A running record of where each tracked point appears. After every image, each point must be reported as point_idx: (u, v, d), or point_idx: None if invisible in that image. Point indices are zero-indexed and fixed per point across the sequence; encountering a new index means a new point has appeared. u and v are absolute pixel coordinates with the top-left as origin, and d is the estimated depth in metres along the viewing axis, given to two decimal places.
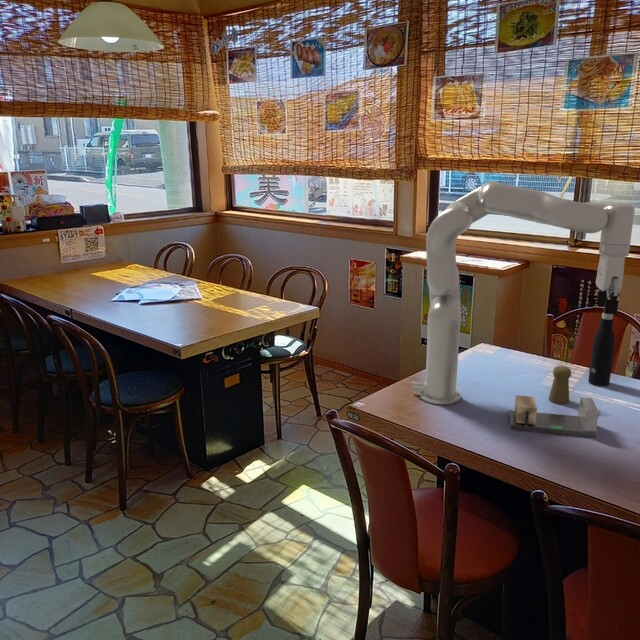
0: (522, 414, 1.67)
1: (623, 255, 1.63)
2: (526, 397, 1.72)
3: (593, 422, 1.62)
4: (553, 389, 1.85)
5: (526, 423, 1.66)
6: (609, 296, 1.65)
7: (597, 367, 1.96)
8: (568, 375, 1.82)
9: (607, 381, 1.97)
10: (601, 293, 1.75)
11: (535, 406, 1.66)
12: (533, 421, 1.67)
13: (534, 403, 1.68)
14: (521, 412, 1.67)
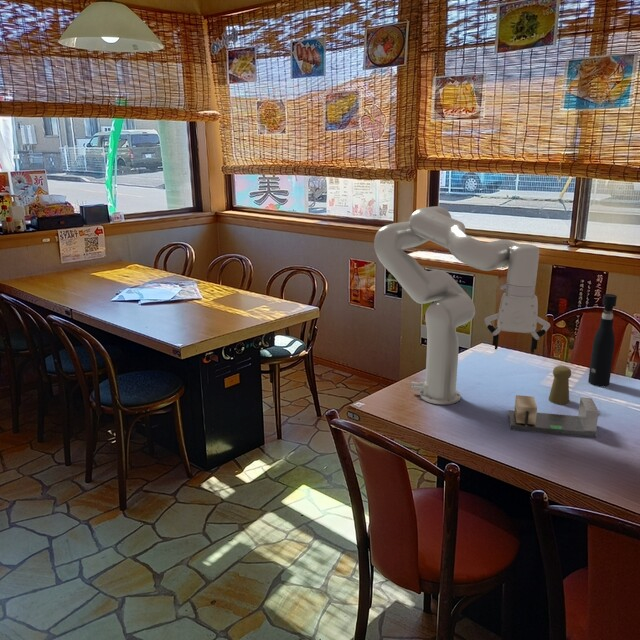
0: (522, 414, 1.67)
1: None
2: (526, 397, 1.72)
3: (593, 422, 1.62)
4: (553, 389, 1.85)
5: (526, 423, 1.66)
6: (538, 335, 1.64)
7: (597, 367, 1.96)
8: (568, 375, 1.82)
9: (607, 381, 1.97)
10: (498, 337, 1.68)
11: (535, 406, 1.66)
12: (533, 421, 1.67)
13: (534, 403, 1.68)
14: (521, 412, 1.67)
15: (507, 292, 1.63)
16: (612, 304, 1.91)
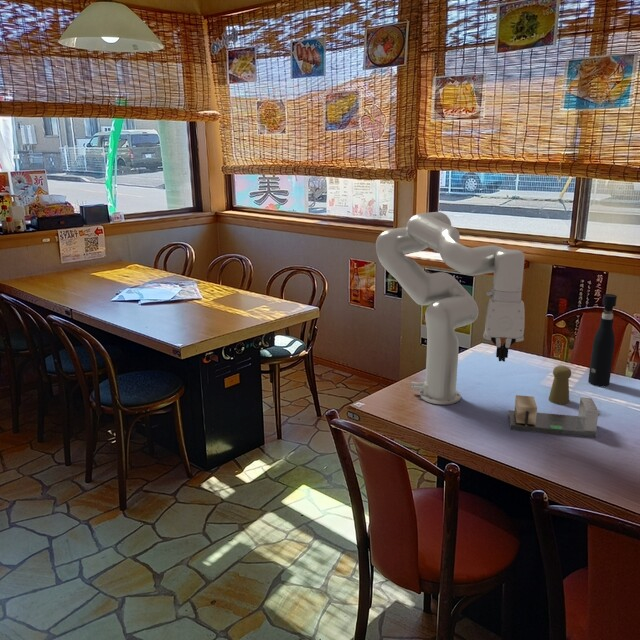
0: (522, 414, 1.67)
1: None
2: (526, 397, 1.72)
3: (593, 422, 1.62)
4: (553, 389, 1.85)
5: (526, 423, 1.66)
6: (509, 345, 1.65)
7: (597, 367, 1.96)
8: (568, 375, 1.82)
9: (607, 381, 1.97)
10: None
11: (535, 406, 1.66)
12: (533, 421, 1.67)
13: (534, 403, 1.68)
14: (521, 412, 1.67)
15: (494, 298, 1.62)
16: (612, 304, 1.91)
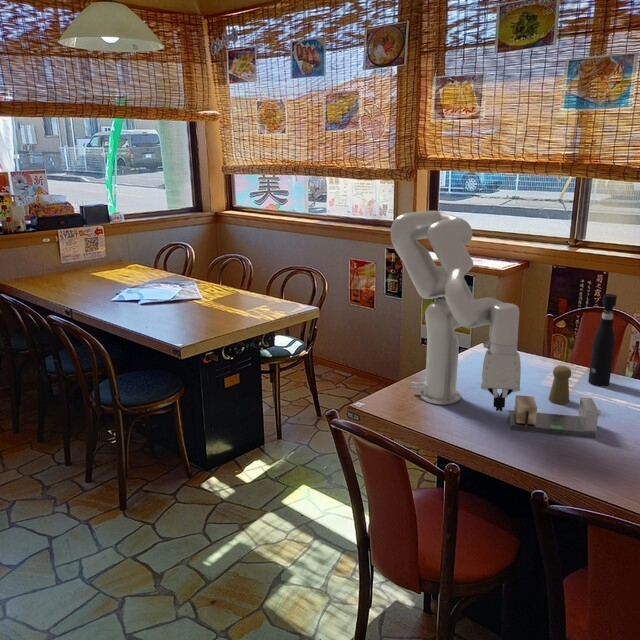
0: (522, 414, 1.67)
1: None
2: (526, 397, 1.72)
3: (593, 422, 1.62)
4: (553, 389, 1.85)
5: (526, 423, 1.66)
6: (506, 395, 1.69)
7: (597, 368, 1.96)
8: (568, 375, 1.82)
9: (607, 381, 1.97)
10: None
11: (535, 406, 1.66)
12: (533, 421, 1.67)
13: (534, 403, 1.68)
14: (521, 412, 1.67)
15: (490, 350, 1.66)
16: (612, 304, 1.91)
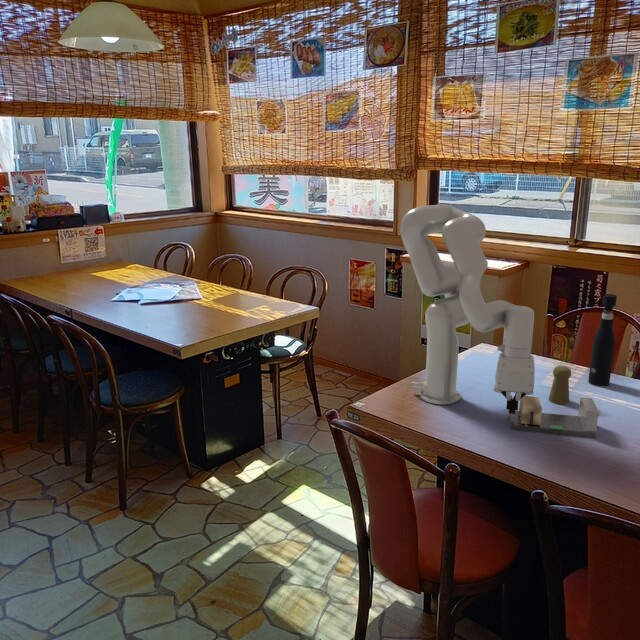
0: (526, 415, 1.66)
1: None
2: (531, 397, 1.72)
3: (593, 422, 1.62)
4: (553, 389, 1.85)
5: (531, 423, 1.66)
6: (519, 398, 1.69)
7: (597, 368, 1.96)
8: (568, 375, 1.82)
9: (607, 381, 1.97)
10: None
11: (540, 406, 1.66)
12: (538, 421, 1.66)
13: (539, 403, 1.68)
14: (526, 412, 1.66)
15: (504, 353, 1.65)
16: (612, 304, 1.91)
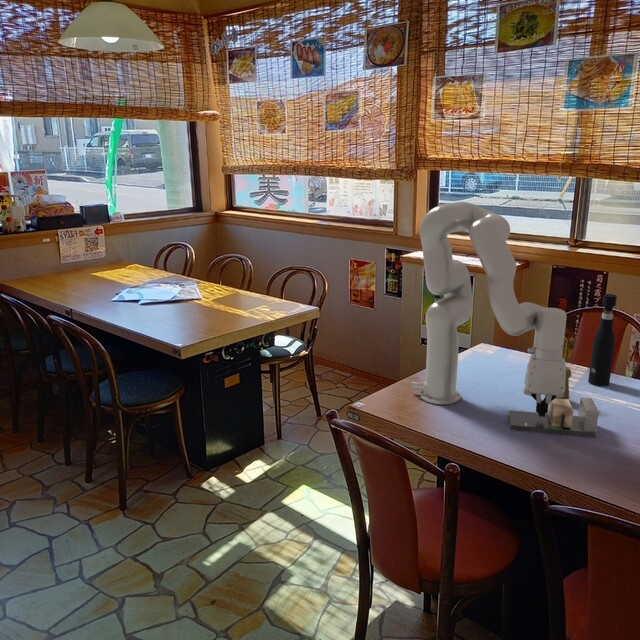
0: (557, 417, 1.65)
1: None
2: (561, 400, 1.70)
3: (593, 422, 1.62)
4: None
5: (562, 426, 1.64)
6: (550, 401, 1.67)
7: (597, 367, 1.96)
8: (568, 375, 1.82)
9: (607, 381, 1.97)
10: None
11: (571, 409, 1.64)
12: (569, 424, 1.65)
13: (570, 406, 1.66)
14: (557, 415, 1.65)
15: (535, 356, 1.64)
16: (612, 304, 1.91)
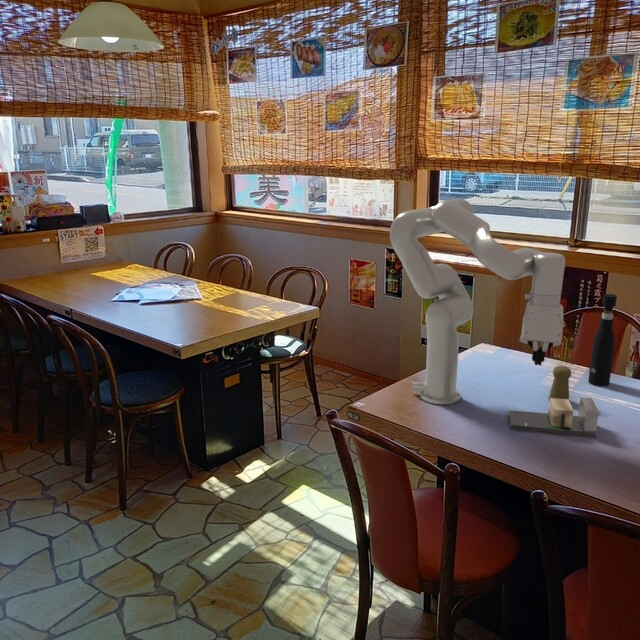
0: (557, 417, 1.65)
1: None
2: (561, 400, 1.70)
3: (593, 422, 1.62)
4: (553, 389, 1.85)
5: (562, 426, 1.64)
6: (546, 349, 1.63)
7: (597, 368, 1.96)
8: (568, 375, 1.82)
9: (607, 381, 1.97)
10: (538, 352, 1.64)
11: (571, 409, 1.64)
12: (569, 424, 1.65)
13: (570, 406, 1.66)
14: (557, 415, 1.65)
15: (532, 301, 1.60)
16: (612, 304, 1.91)
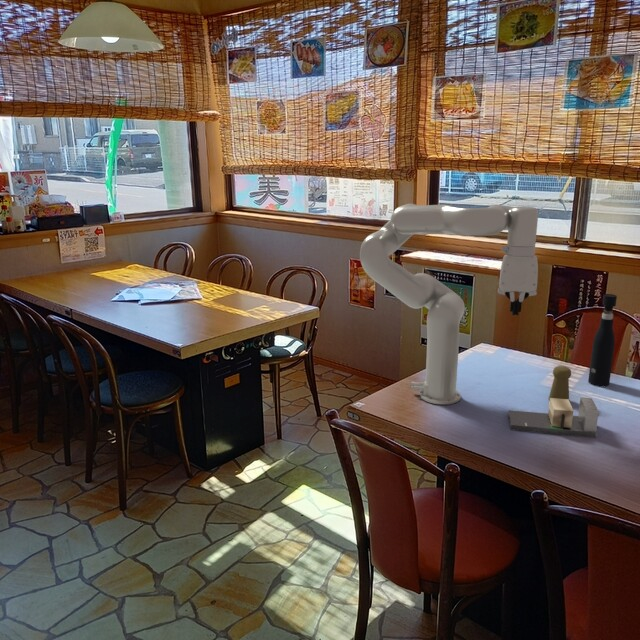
0: (557, 417, 1.65)
1: None
2: (561, 400, 1.70)
3: (593, 422, 1.62)
4: (553, 389, 1.85)
5: (562, 426, 1.64)
6: (523, 299, 1.72)
7: (597, 367, 1.96)
8: (568, 375, 1.82)
9: (607, 381, 1.97)
10: (515, 303, 1.73)
11: (571, 409, 1.64)
12: (569, 424, 1.65)
13: (570, 406, 1.66)
14: (557, 415, 1.65)
15: (508, 253, 1.69)
16: (612, 304, 1.91)
